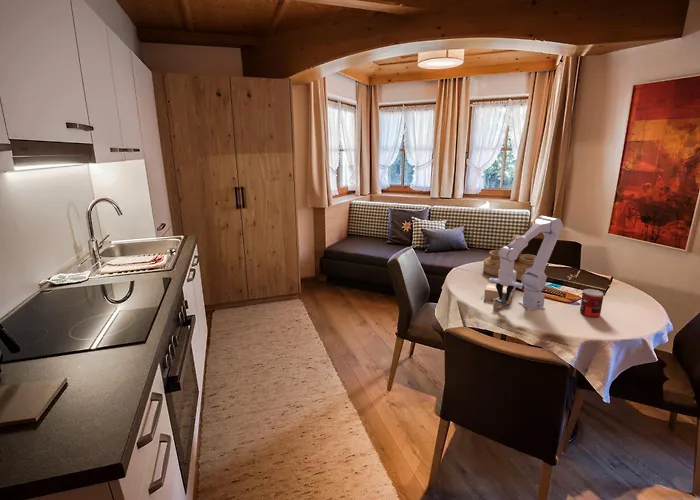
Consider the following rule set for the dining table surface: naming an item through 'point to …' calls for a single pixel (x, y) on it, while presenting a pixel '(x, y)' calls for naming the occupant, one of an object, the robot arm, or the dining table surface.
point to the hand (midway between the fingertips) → (503, 299)
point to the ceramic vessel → (520, 263)
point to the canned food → (591, 303)
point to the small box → (512, 279)
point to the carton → (493, 291)
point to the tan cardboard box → (501, 300)
